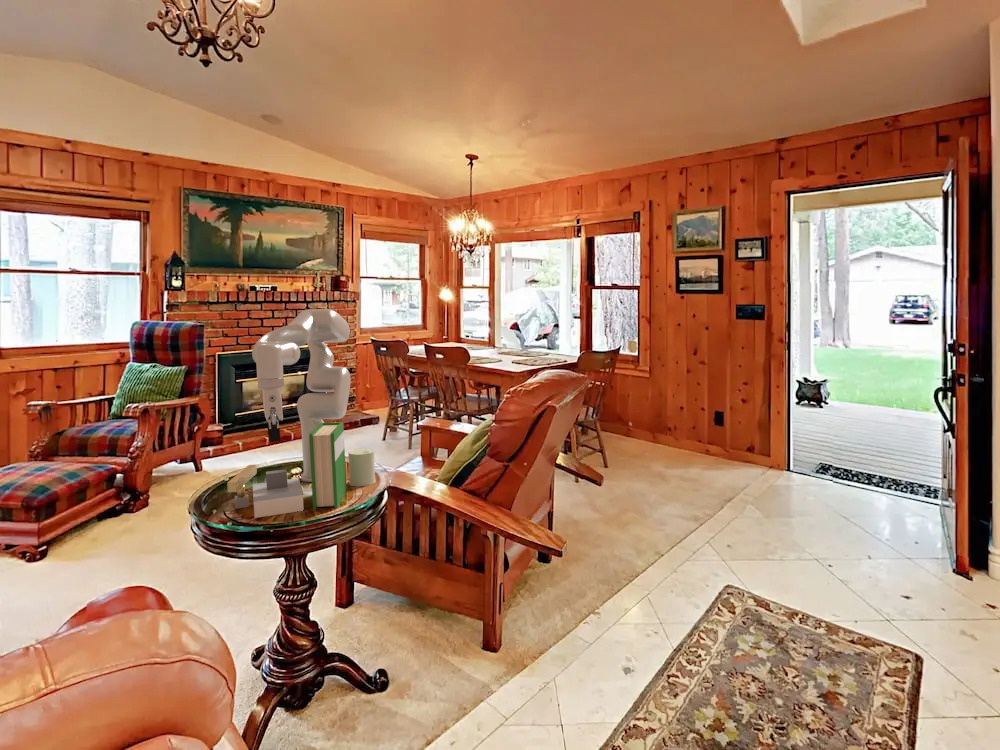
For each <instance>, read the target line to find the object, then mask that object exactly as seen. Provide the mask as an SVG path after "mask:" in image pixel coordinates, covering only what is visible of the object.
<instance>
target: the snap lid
mask: <svg viewBox="0 0 1000 750" xmlns="http://www.w3.org/2000/svg"><path fill="white" fill-rule="evenodd" d="M265 479H266V481H265V482H258V483H252V496H253V497H252V499H253V503H254V502H256V501H263V500H271V499H278V498H285V497H292V496H300V495H303V496H304V490H303V487H302V484H301V480H300V477H298V478H291V479H288V471H287V469H276V470H270V471H265Z"/></svg>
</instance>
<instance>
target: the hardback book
mask: <svg viewBox="0 0 1000 750" xmlns="http://www.w3.org/2000/svg"><path fill="white" fill-rule="evenodd" d="M344 426H345V425H344V422H343V421H337V422H324V423H320V424H319V425H318V426H317V427H316V428H315V429H314V430H313V431H312V432H311V433H310V434H309V442H310V460H311V479H312V482H311V492H312V493H311V495H312V510H315V511H316V510H317V509H318V508H319V507H334V509H339V506H340V504H341V502H342V500H343V499H344V497H345V495H346V492H347V474H346V473H347V472H346V469H347V468H346V453H345V452H346V451H345V431H344Z"/></svg>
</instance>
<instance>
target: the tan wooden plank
mask: <svg viewBox="0 0 1000 750" xmlns="http://www.w3.org/2000/svg"><path fill="white" fill-rule="evenodd" d="M257 470H258V469H257V464H249V465H246V467H245V468H243V469H242V470H241V471H240V472H238V473H237V474H236V475H235V476H234V477H232V478H231V479H230V480H229V481H227V493H236V494H237V495H236V496H237V497H244V496H245V494H246V484H247V483H248V482H249V481H250V480H251V479H252V478H254V476H256V475H257V474H258V471H257Z"/></svg>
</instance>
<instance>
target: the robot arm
mask: <svg viewBox="0 0 1000 750" xmlns="http://www.w3.org/2000/svg"><path fill="white" fill-rule="evenodd" d="M350 333H351V330H350V325H349V323H348V321H347V320H346V319H344V317H342V315H340V314H339V313H338V312H337V311H335V310H333V309H330V308H324V309H323V308H320V309H318V308H316V309H315V308H312V309H304V310H301V311H300V312H299V313H298V314H297V316H295V317H294V319H293V320H292V321H291V322H289V324H288V325H284V326H281V327H279V328H276V329H274V330H272V331H271V330H270V331H269V332H267V333H265V334H264V335H262V336H261V337H260V338H259V339H258V340H257V341H256V342H255V343H254V346H253V347H252V352H251V356H252V357H251V358H252V359H253V361H254V363H256V364H255V365H256V379H257V390H260V391H262V404H263V412H264V417H265V419H266V422H267V424H266V425H267V426H266V427H267V435H268V442H269V443H273V442H274V443H277V442H280V441H281V429H280V428H281V427H280V424H279V420H280V421H283V420H284V414H283V400H282V399H283V398H282V391H281V390H282V389H285V382H284V380H285V379H284V366H291V365H294V364H296V363H298V361H299V359H300V358H301V350H300V349H301V348H300V347H303V346H305V345H306V344H307V347H308V350H309V353H310V359H309V365H308V370H307V375H306V387H307V389H308V390H310V391H311V392H310V393H305V394H302V395H300V396H299V398H298V400H297V402H296V408H297V414H298V416H299V422H300V429H301V430H300V431H301V447H302V463H303V464H302V466H303V473H301V474H300V475H301V479H302V480H301V481H302V482H307V483H312V479H311V460H310V442H309V434H310V433H311V432H312V431H313V430H314V429H315V428H316V427H317V426H318V425H319V424H320V423H325V421H324V420H339V419H342V418H344V417H345V415H346V414H347V409H348V404H349V397H350V396H349V395H350V390H351V389H350V388H351V373H350V371H349V370H348V368H347V367H345V366H340V365H339V366H333V365H334V361H335V356H334V354H333V352H332V351H331V349H330V348H329V347H328V346H327V345H326V343H344V342H347V341H348V340H349V338H350V335H351V334H350Z"/></svg>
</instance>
